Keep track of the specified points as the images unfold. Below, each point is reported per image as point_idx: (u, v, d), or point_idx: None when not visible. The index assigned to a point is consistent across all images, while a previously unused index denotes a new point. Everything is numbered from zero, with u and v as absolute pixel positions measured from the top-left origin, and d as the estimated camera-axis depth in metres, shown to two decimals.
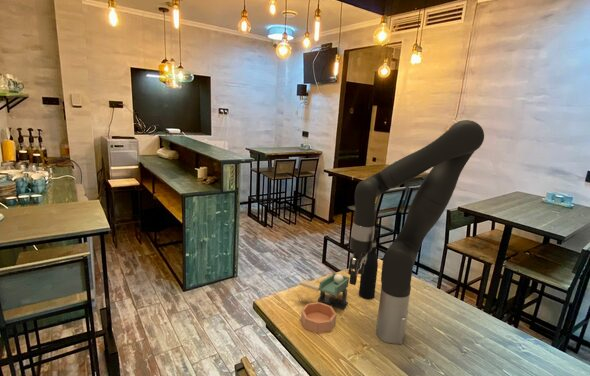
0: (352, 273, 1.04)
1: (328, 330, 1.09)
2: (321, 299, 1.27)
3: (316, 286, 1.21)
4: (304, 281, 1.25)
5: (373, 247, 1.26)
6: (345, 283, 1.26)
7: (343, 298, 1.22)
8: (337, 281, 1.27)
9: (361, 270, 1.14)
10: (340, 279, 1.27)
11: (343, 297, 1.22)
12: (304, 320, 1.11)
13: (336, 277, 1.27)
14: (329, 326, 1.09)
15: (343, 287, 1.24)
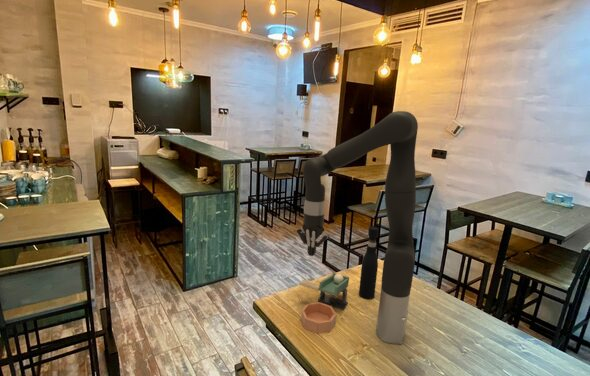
0: None
1: (328, 330, 1.09)
2: (321, 299, 1.27)
3: (316, 286, 1.21)
4: (304, 281, 1.25)
5: (373, 247, 1.26)
6: (345, 283, 1.26)
7: (343, 298, 1.22)
8: (337, 281, 1.27)
9: None
10: (340, 279, 1.27)
11: (343, 297, 1.22)
12: (304, 320, 1.11)
13: (336, 277, 1.27)
14: (329, 326, 1.09)
15: (343, 287, 1.24)
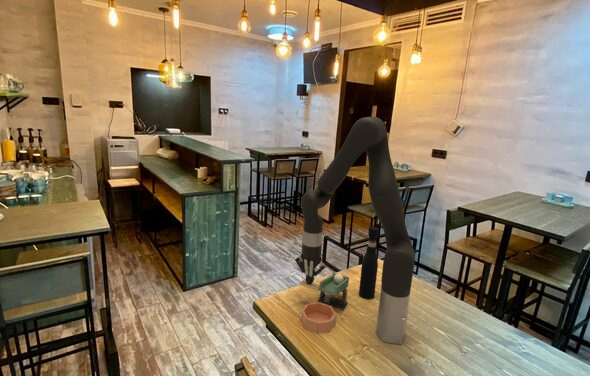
0: None
1: (328, 330, 1.09)
2: (321, 299, 1.27)
3: (316, 286, 1.21)
4: (304, 281, 1.25)
5: (373, 247, 1.26)
6: (345, 283, 1.26)
7: (343, 298, 1.22)
8: (337, 281, 1.27)
9: None
10: (340, 279, 1.27)
11: (343, 297, 1.22)
12: (304, 320, 1.11)
13: (336, 277, 1.27)
14: (329, 326, 1.09)
15: (343, 287, 1.24)
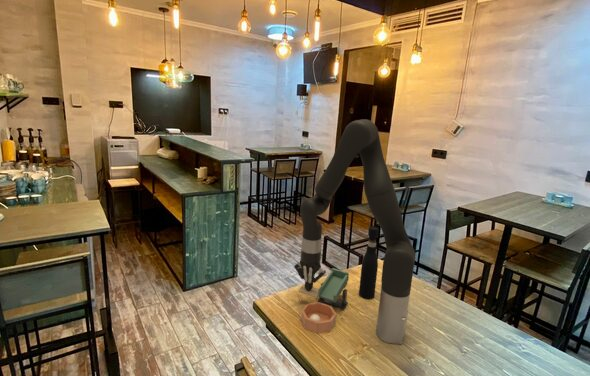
0: None
1: (328, 330, 1.09)
2: (321, 299, 1.27)
3: (315, 293, 1.21)
4: (303, 286, 1.25)
5: (373, 247, 1.26)
6: (344, 281, 1.25)
7: (343, 298, 1.22)
8: (315, 316, 1.10)
9: None
10: (319, 317, 1.11)
11: (343, 297, 1.22)
12: (304, 320, 1.11)
13: None
14: (329, 326, 1.09)
15: (343, 287, 1.24)
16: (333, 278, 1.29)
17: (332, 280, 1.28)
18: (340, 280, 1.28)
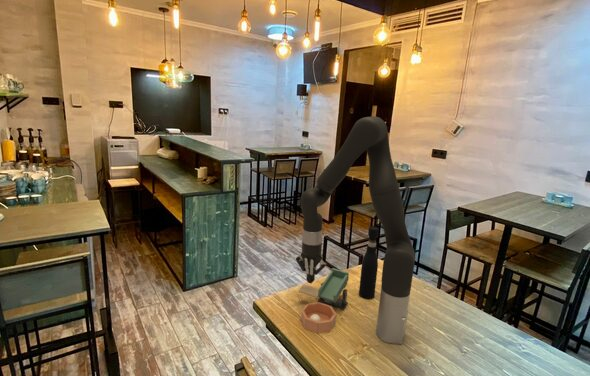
0: None
1: (328, 330, 1.09)
2: (321, 299, 1.27)
3: (315, 293, 1.21)
4: (303, 287, 1.25)
5: (373, 247, 1.26)
6: (344, 281, 1.25)
7: (343, 298, 1.22)
8: (315, 316, 1.11)
9: None
10: (319, 317, 1.11)
11: (343, 297, 1.22)
12: (304, 320, 1.11)
13: (315, 314, 1.12)
14: (329, 326, 1.09)
15: (343, 287, 1.24)
16: (333, 278, 1.29)
17: (332, 280, 1.28)
18: (340, 280, 1.28)
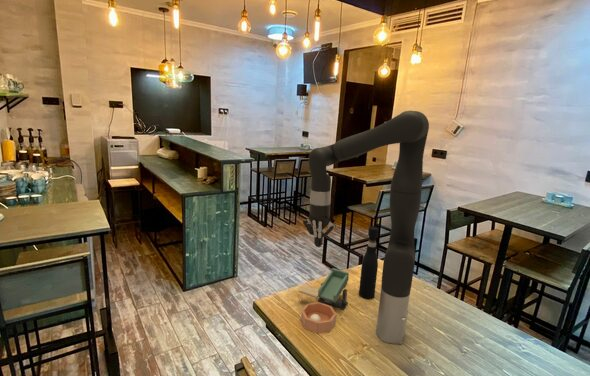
0: None
1: (328, 330, 1.09)
2: (321, 299, 1.27)
3: (315, 293, 1.21)
4: (303, 287, 1.25)
5: (373, 247, 1.26)
6: (344, 281, 1.25)
7: (343, 298, 1.22)
8: (315, 315, 1.11)
9: None
10: (319, 317, 1.11)
11: (343, 297, 1.22)
12: (304, 320, 1.11)
13: (315, 314, 1.12)
14: (329, 326, 1.09)
15: (343, 287, 1.24)
16: (333, 278, 1.29)
17: (332, 280, 1.28)
18: (340, 280, 1.28)
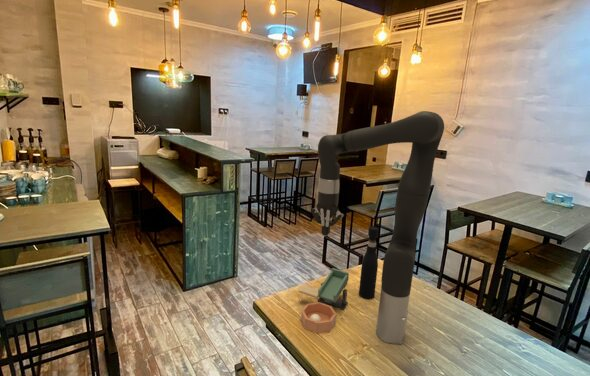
0: None
1: (328, 330, 1.09)
2: (321, 299, 1.27)
3: (315, 293, 1.21)
4: (303, 287, 1.25)
5: (373, 247, 1.26)
6: (344, 281, 1.25)
7: (343, 298, 1.22)
8: (316, 315, 1.11)
9: None
10: (319, 316, 1.11)
11: (343, 297, 1.22)
12: (304, 320, 1.11)
13: (315, 314, 1.12)
14: (329, 326, 1.09)
15: (343, 287, 1.24)
16: (333, 278, 1.29)
17: (332, 280, 1.28)
18: (340, 280, 1.28)
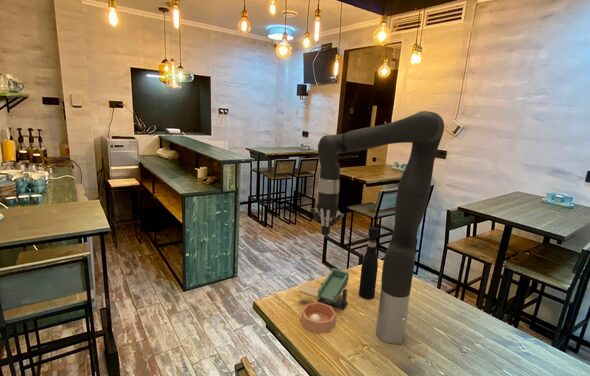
0: None
1: (328, 330, 1.09)
2: (321, 299, 1.27)
3: (315, 293, 1.21)
4: (303, 287, 1.25)
5: (373, 247, 1.26)
6: (344, 281, 1.25)
7: (343, 298, 1.22)
8: (316, 315, 1.11)
9: None
10: (319, 316, 1.11)
11: (343, 297, 1.22)
12: (304, 320, 1.11)
13: (315, 314, 1.12)
14: (329, 326, 1.09)
15: (343, 287, 1.24)
16: (333, 278, 1.29)
17: (332, 280, 1.28)
18: (340, 280, 1.28)
